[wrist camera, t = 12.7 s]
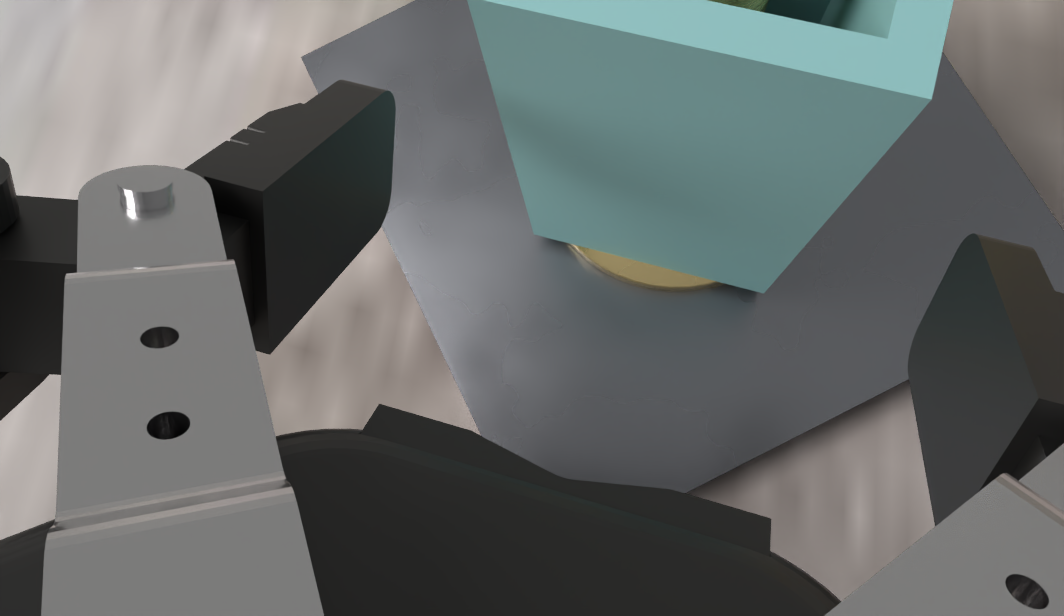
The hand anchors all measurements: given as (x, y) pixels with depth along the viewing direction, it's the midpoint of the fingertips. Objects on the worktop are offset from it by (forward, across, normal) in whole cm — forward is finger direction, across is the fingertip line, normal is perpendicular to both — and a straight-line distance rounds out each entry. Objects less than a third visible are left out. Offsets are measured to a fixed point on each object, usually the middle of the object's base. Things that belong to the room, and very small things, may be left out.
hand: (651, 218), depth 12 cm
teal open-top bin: (+8, 0, +2) cm, 8 cm away
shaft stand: (+9, 0, +4) cm, 10 cm away
